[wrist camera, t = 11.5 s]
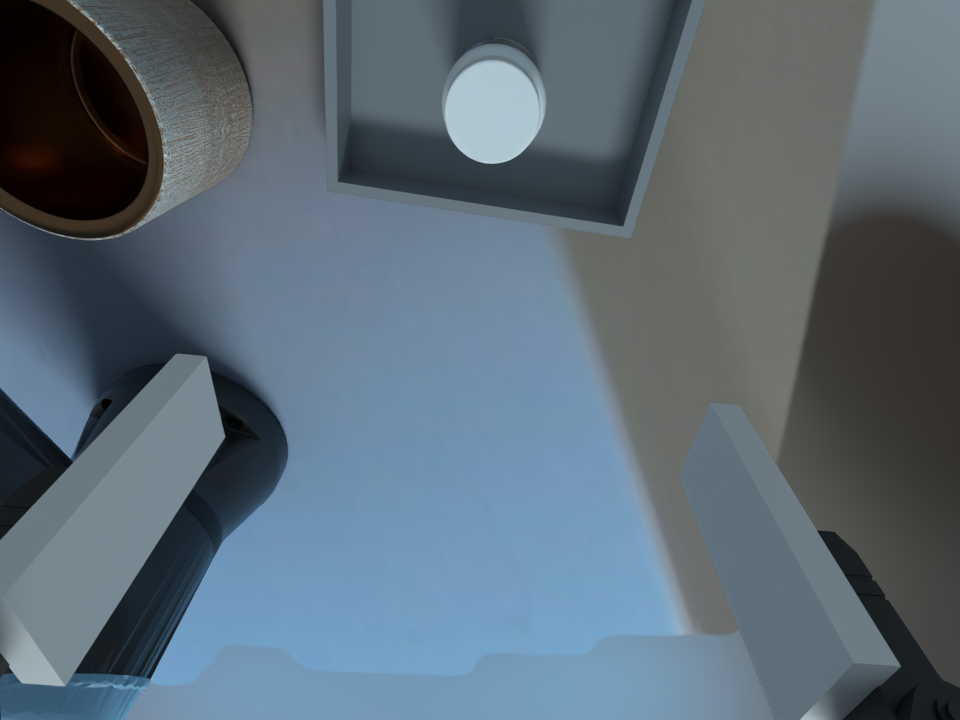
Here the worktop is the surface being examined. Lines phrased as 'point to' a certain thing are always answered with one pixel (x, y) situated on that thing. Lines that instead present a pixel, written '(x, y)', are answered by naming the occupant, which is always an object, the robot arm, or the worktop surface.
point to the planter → (114, 112)
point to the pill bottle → (494, 100)
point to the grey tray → (568, 118)
